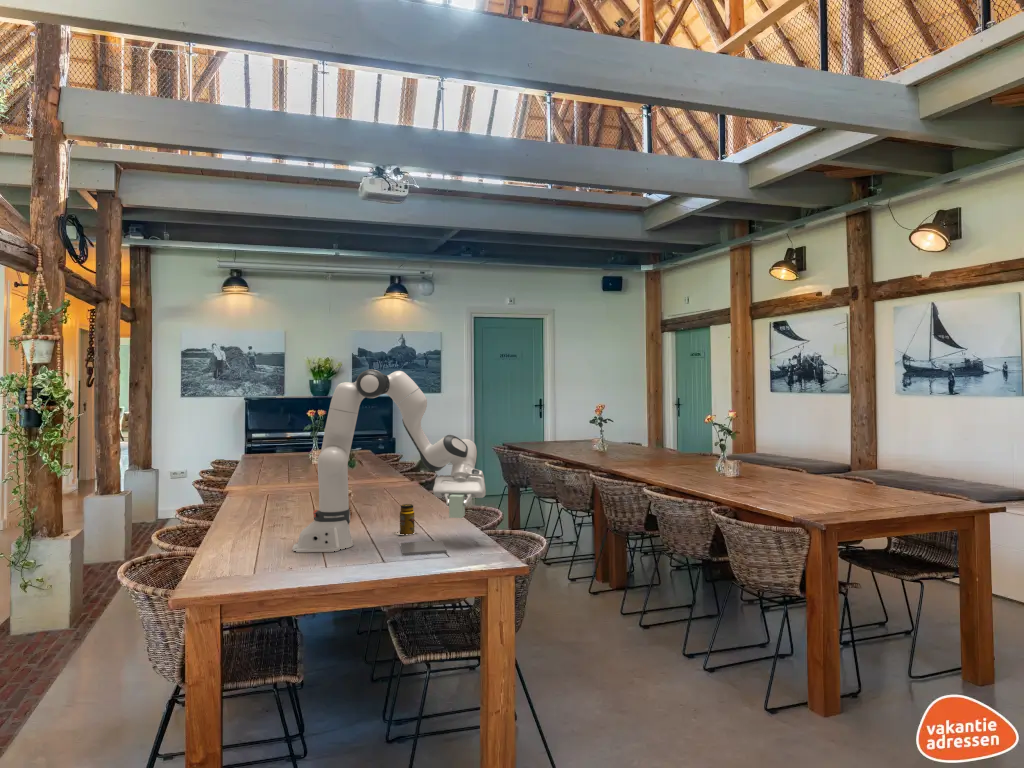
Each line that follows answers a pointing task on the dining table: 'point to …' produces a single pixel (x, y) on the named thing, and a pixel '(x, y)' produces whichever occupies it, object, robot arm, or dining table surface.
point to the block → (456, 506)
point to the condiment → (406, 519)
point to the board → (423, 547)
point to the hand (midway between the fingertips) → (456, 505)
